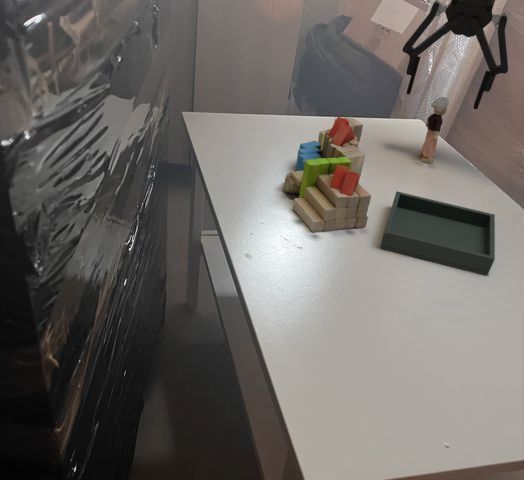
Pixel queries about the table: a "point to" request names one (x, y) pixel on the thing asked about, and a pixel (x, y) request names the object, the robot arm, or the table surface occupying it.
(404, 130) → the table surface
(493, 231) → the tray
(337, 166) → the pile of blocks
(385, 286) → the table surface
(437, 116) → the grandmother figurine
